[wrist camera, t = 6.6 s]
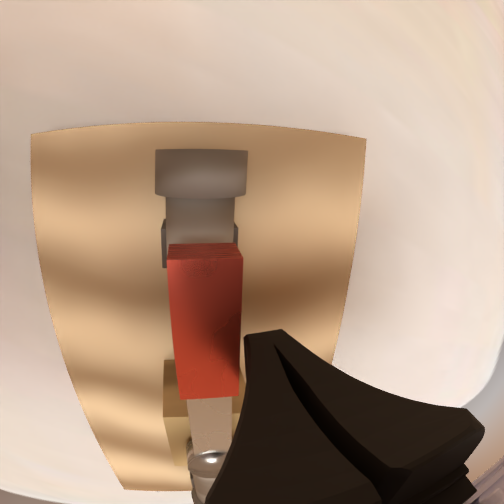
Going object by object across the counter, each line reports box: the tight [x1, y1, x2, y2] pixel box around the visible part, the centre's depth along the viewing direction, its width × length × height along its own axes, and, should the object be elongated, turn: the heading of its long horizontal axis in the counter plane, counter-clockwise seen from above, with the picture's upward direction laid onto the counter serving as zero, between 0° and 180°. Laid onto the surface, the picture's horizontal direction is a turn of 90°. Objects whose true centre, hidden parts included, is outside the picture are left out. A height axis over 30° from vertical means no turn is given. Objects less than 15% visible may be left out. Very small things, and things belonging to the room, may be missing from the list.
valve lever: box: [167, 243, 244, 478], centre depth 10 cm, size 11×2×1 cm, turn 177°
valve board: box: [31, 122, 366, 504], centre depth 15 cm, size 28×16×6 cm, turn 177°
